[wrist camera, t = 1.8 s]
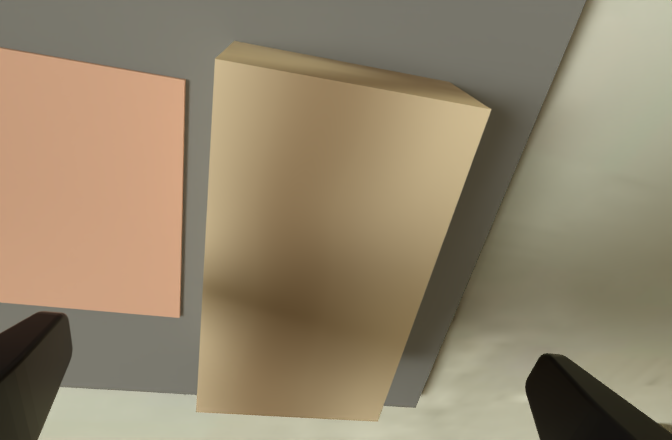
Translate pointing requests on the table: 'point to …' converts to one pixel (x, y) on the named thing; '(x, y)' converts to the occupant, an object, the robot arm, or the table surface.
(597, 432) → the robot arm
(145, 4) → the mat
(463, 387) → the table surface
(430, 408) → the table surface
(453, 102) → the maple tile
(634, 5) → the table surface
